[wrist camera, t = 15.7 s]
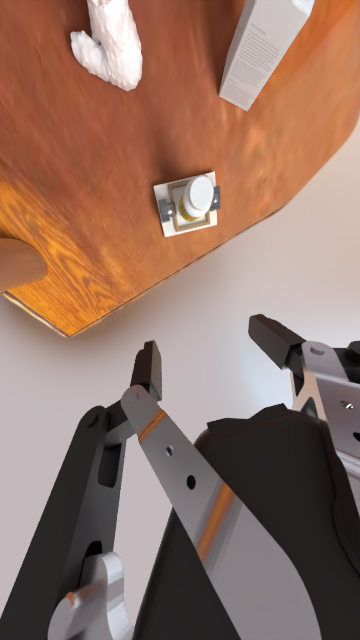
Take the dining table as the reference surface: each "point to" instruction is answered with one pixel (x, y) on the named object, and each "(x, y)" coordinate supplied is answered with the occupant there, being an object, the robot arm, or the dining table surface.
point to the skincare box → (260, 46)
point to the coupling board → (173, 194)
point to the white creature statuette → (110, 44)
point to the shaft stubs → (170, 210)
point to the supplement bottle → (196, 198)
